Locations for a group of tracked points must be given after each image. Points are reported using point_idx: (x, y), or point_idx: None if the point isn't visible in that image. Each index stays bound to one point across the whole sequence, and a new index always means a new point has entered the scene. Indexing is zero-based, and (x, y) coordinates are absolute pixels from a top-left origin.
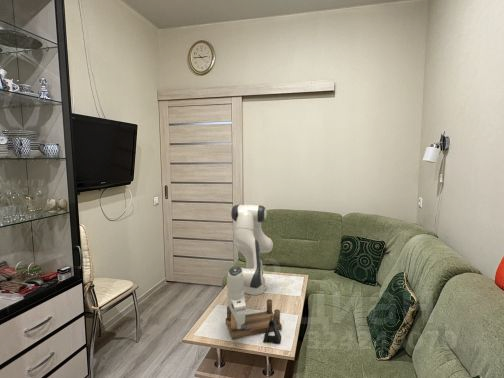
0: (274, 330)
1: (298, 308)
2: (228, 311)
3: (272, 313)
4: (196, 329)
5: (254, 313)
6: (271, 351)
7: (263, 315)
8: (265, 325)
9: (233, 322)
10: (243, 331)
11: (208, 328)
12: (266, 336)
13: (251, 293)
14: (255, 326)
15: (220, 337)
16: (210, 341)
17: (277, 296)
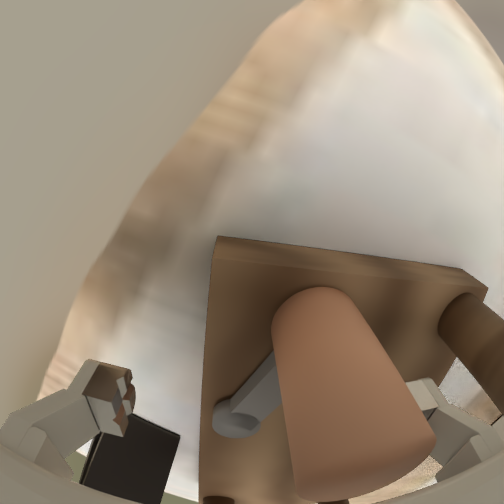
0: None
1: None
2: None
3: (314, 502)
4: (476, 34)
5: None
6: (43, 390)
7: None
8: (224, 477)
9: (300, 371)
10: (211, 374)
11: (468, 107)
12: (98, 443)
13: (496, 426)
14: (242, 449)
15: (307, 134)
16: (286, 26)
17: (414, 485)
